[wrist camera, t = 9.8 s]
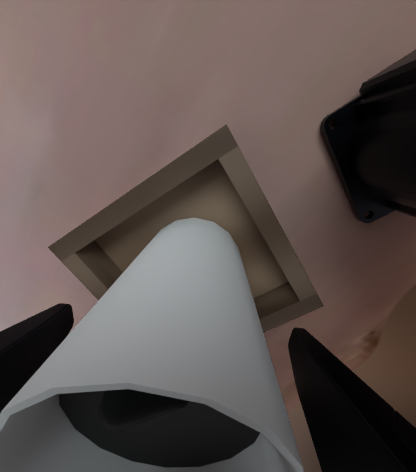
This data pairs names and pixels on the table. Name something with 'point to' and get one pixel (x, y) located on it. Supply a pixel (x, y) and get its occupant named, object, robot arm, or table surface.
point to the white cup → (159, 374)
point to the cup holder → (203, 207)
